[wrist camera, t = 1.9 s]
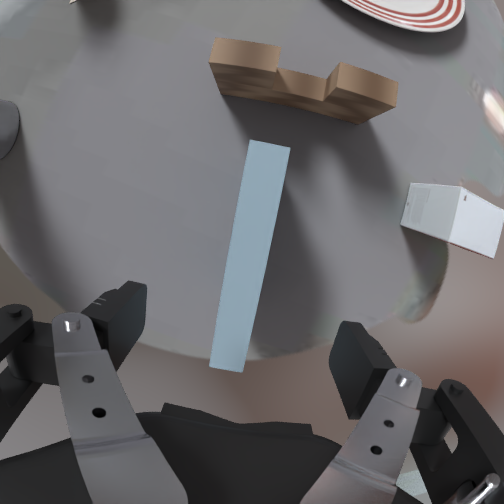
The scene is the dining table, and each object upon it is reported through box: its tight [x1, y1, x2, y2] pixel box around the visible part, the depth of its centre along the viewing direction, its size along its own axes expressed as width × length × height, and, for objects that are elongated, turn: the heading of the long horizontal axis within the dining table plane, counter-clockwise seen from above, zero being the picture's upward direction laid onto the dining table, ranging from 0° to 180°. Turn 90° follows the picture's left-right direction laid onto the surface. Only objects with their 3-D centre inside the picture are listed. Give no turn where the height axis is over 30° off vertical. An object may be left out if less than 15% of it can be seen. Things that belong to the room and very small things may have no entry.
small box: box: [400, 183, 504, 259], centre depth 28 cm, size 8×6×10 cm
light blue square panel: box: [209, 140, 290, 372], centre depth 27 cm, size 2×16×15 cm, turn 169°
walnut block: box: [209, 38, 398, 125], centre depth 25 cm, size 16×2×10 cm, turn 79°
